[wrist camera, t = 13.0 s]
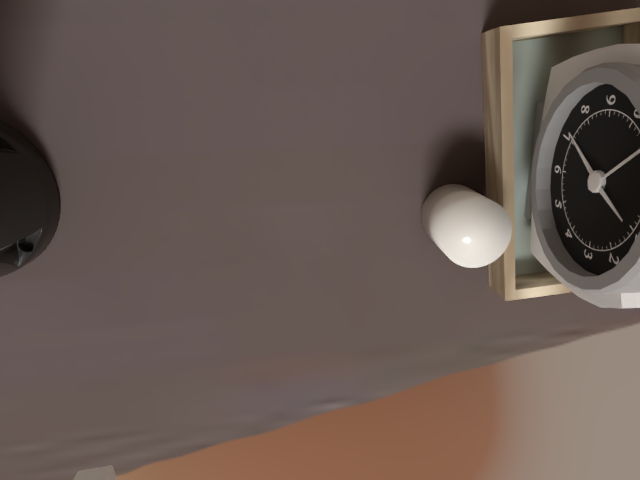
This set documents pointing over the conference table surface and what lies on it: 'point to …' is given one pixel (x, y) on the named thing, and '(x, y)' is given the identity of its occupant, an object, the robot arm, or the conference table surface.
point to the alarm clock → (589, 176)
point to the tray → (530, 124)
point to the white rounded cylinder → (466, 225)
